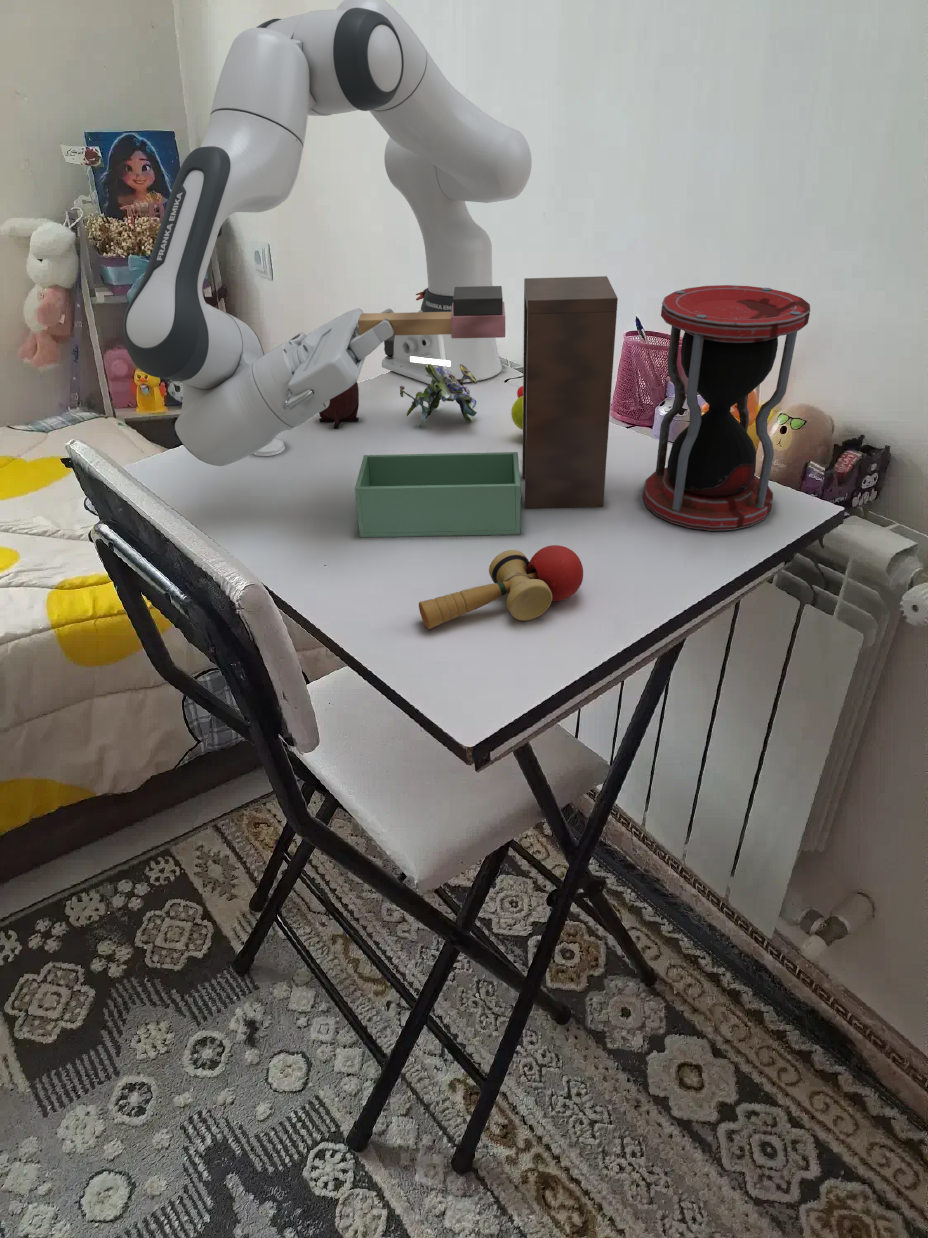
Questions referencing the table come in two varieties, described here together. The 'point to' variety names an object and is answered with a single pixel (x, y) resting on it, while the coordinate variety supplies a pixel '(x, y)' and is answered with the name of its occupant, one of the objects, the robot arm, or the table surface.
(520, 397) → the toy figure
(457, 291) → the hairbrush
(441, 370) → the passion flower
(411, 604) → the table surface
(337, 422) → the mate gourd
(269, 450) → the chess piece
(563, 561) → the kendama
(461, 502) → the bin
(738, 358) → the hourglass
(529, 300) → the shelf stand
